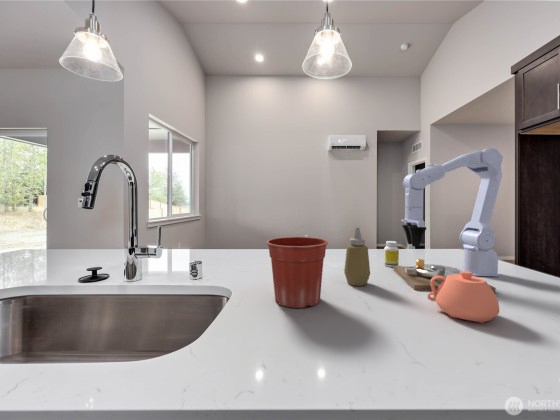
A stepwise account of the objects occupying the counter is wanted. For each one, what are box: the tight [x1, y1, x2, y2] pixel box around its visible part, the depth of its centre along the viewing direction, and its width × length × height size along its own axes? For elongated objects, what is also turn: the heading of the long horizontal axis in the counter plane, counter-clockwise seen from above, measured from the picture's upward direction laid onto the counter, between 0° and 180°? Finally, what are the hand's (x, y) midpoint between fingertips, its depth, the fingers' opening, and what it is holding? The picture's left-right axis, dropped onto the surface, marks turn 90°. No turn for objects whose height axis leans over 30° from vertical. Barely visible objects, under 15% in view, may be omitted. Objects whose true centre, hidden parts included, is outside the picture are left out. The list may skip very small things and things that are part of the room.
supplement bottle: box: [383, 240, 400, 268], centre depth 108 cm, size 5×5×10 cm
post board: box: [392, 265, 497, 294], centre depth 89 cm, size 22×22×6 cm
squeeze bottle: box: [343, 227, 371, 287], centre depth 86 cm, size 8×8×18 cm
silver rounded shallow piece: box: [405, 258, 461, 278], centre depth 89 cm, size 17×14×4 cm
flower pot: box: [266, 236, 329, 309], centre depth 72 cm, size 16×16×16 cm
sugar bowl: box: [427, 271, 500, 324], centre depth 63 cm, size 12×14×10 cm
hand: (413, 245), depth 96 cm, fingers open, 4 cm apart
